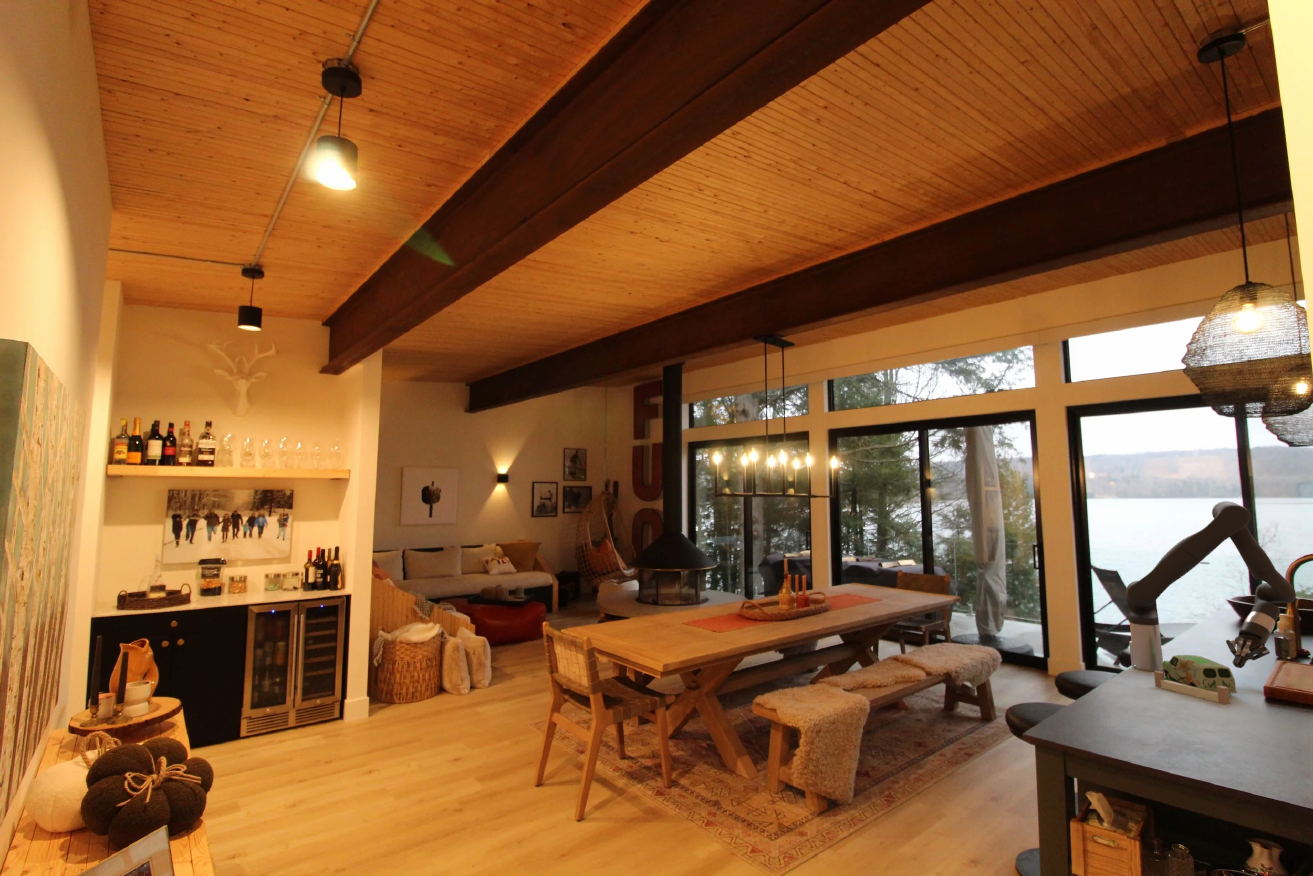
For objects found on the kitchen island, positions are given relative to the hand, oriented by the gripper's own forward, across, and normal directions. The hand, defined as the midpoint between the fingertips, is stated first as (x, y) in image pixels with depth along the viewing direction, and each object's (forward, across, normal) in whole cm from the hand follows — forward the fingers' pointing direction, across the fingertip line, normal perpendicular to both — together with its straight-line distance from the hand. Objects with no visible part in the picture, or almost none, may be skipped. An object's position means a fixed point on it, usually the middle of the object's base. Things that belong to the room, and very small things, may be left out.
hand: (1237, 666), depth 226 cm
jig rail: (+22, +1, -13) cm, 26 cm away
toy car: (+15, -4, -5) cm, 16 cm away
